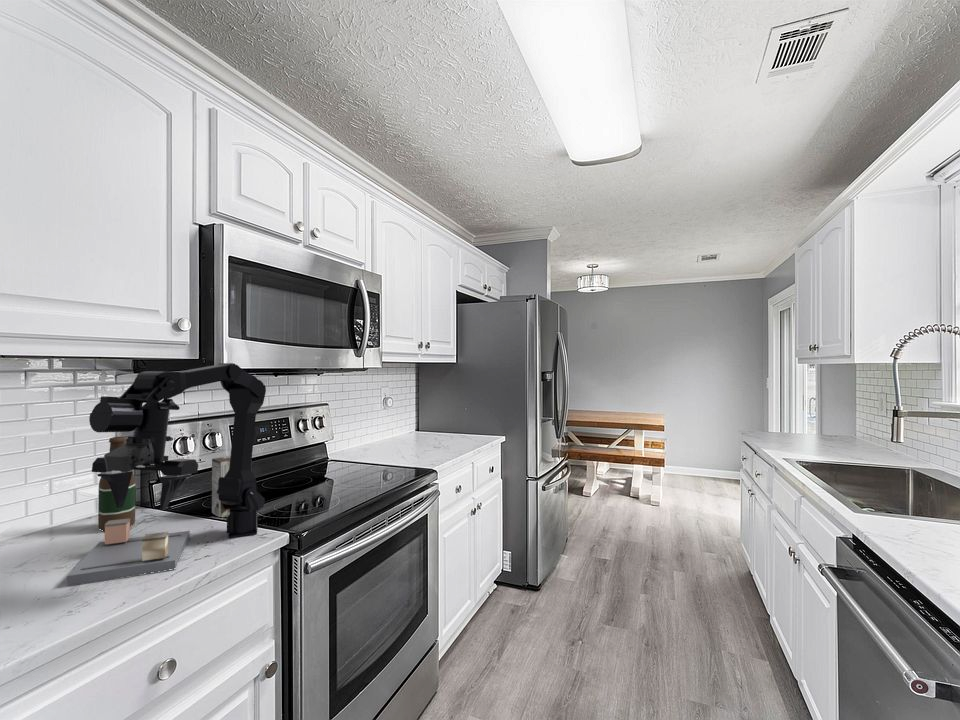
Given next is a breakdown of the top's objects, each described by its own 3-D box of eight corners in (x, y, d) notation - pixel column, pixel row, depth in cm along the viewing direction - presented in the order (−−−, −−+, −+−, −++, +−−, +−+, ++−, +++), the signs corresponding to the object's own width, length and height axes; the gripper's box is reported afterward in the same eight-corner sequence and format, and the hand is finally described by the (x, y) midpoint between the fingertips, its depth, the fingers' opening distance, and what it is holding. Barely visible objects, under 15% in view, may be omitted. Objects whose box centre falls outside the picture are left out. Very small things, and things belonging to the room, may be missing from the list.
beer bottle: (115, 533, 119) (116, 439, 119) (90, 531, 120) (91, 439, 121) (142, 523, 127) (143, 435, 127) (117, 521, 128) (118, 434, 128)
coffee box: (243, 506, 142) (243, 453, 142) (252, 510, 138) (253, 456, 138) (210, 513, 135) (211, 458, 135) (219, 518, 131) (220, 461, 131)
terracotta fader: (130, 537, 110) (130, 518, 110) (126, 541, 107) (126, 522, 107) (108, 539, 108) (108, 520, 108) (104, 544, 105) (104, 524, 105)
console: (189, 538, 115) (189, 530, 115) (175, 569, 98) (175, 559, 98) (99, 550, 108) (99, 541, 108) (66, 586, 91) (66, 575, 91)
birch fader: (168, 552, 101) (168, 531, 101) (165, 557, 98) (165, 536, 98) (145, 555, 99) (145, 534, 99) (141, 561, 97) (142, 539, 97)
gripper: (71, 430, 89) (60, 515, 87) (165, 434, 88) (155, 520, 86) (119, 429, 100) (110, 504, 98) (203, 432, 99) (195, 508, 97)
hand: (141, 508), depth 94 cm, fingers open, 9 cm apart
